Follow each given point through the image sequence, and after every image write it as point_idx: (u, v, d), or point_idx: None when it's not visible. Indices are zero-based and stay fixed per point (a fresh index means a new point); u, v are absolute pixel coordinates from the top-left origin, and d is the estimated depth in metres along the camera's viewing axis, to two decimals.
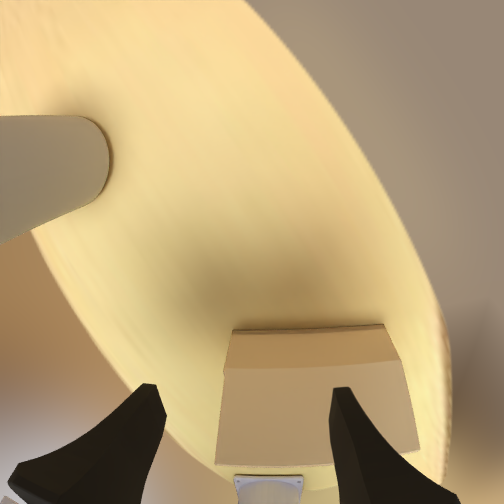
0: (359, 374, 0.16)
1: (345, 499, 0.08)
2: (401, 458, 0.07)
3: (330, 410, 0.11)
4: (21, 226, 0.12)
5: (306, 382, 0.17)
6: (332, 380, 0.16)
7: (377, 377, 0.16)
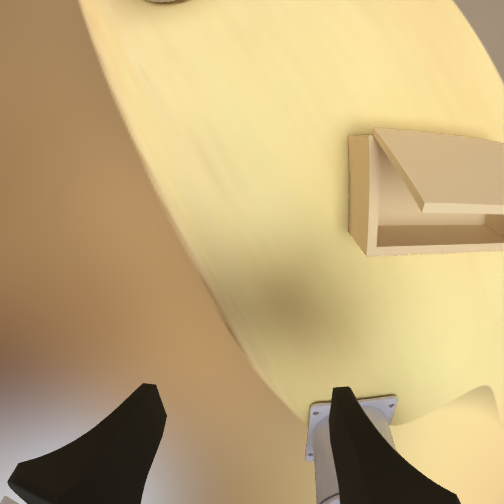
0: None
1: (345, 499, 0.08)
2: (401, 458, 0.07)
3: (330, 410, 0.11)
4: None
5: (466, 144, 0.12)
6: (487, 147, 0.12)
7: None
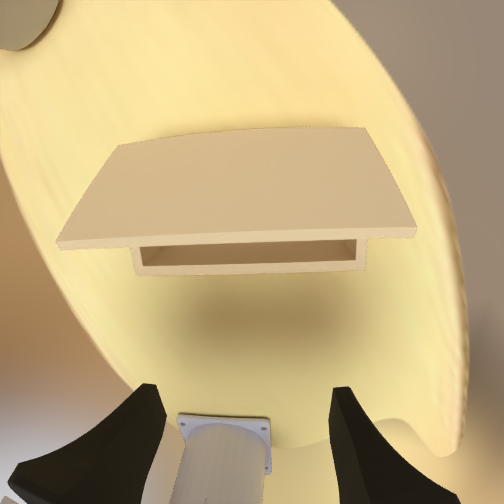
0: (299, 134, 0.11)
1: (345, 499, 0.08)
2: (401, 458, 0.07)
3: (330, 410, 0.11)
4: None
5: (217, 143, 0.11)
6: (256, 139, 0.11)
7: (327, 138, 0.11)
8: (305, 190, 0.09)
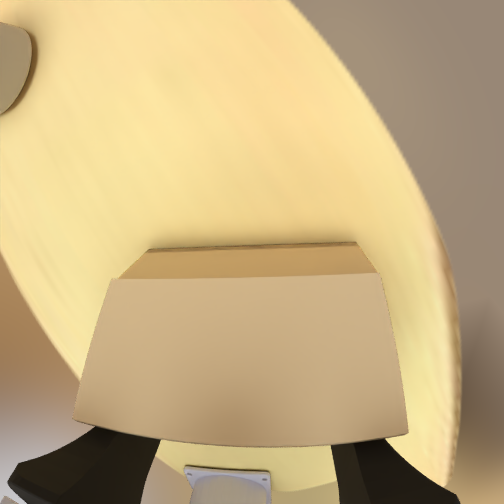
0: (307, 292, 0.11)
1: (345, 499, 0.08)
2: (401, 458, 0.07)
3: None
4: None
5: (218, 301, 0.11)
6: (261, 299, 0.11)
7: (338, 298, 0.11)
8: (309, 392, 0.09)
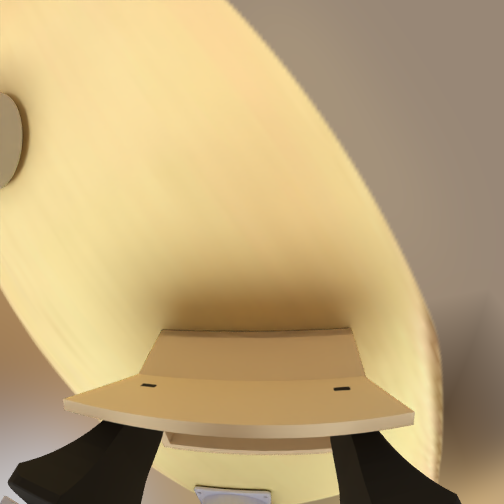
0: (304, 383, 0.12)
1: (345, 499, 0.08)
2: (401, 458, 0.07)
3: None
4: None
5: (229, 385, 0.12)
6: (265, 385, 0.12)
7: (329, 383, 0.12)
8: (307, 407, 0.09)
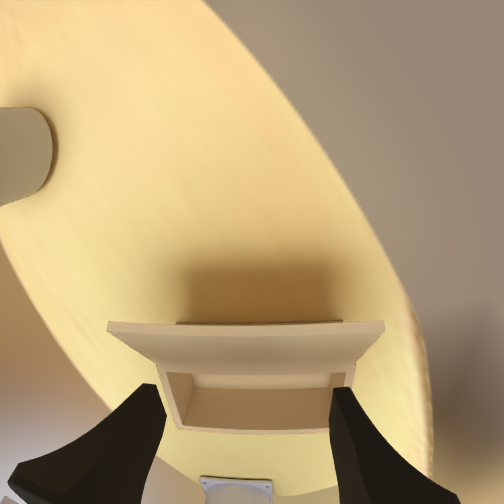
0: None
1: (345, 499, 0.08)
2: (401, 458, 0.07)
3: (330, 410, 0.11)
4: None
5: None
6: None
7: None
8: None
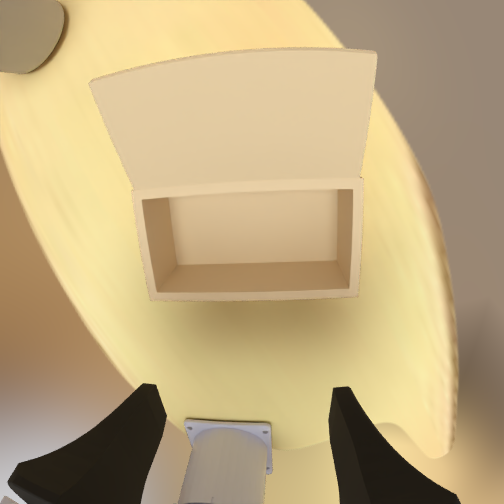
0: None
1: (345, 499, 0.08)
2: (401, 458, 0.07)
3: (330, 410, 0.11)
4: None
5: None
6: None
7: None
8: None
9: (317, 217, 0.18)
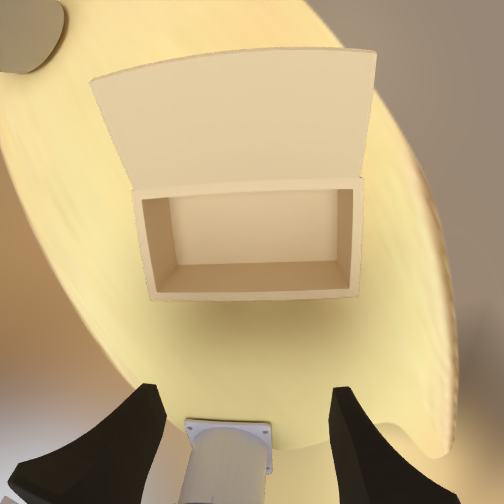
0: None
1: (345, 499, 0.08)
2: (401, 458, 0.07)
3: (330, 410, 0.11)
4: None
5: None
6: None
7: None
8: None
9: (317, 217, 0.18)
